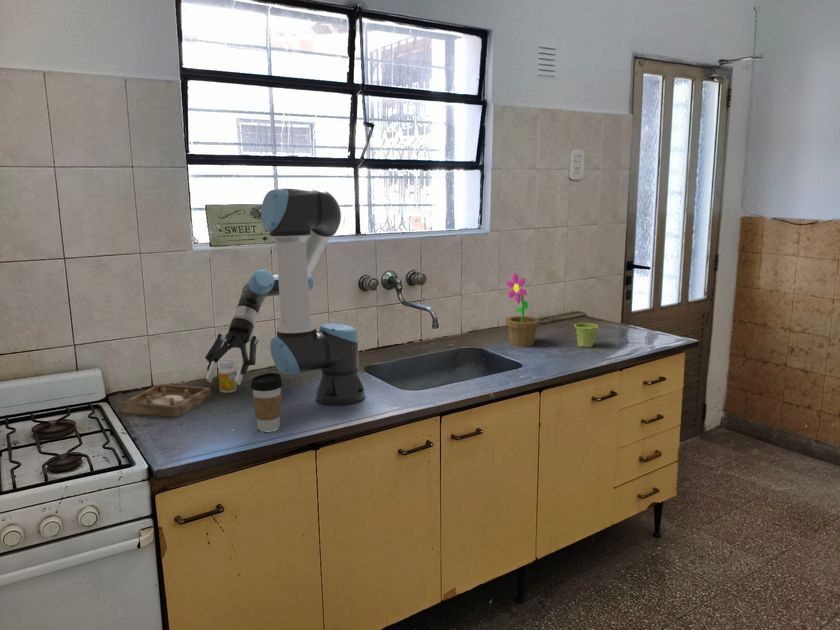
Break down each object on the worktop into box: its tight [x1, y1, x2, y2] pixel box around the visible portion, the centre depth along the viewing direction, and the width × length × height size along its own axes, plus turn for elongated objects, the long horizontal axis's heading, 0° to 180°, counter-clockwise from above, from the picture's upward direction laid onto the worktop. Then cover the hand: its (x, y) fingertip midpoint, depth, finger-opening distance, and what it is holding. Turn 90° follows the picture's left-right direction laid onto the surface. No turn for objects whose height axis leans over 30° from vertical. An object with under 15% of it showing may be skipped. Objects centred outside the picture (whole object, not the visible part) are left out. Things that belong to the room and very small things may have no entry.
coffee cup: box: [250, 372, 283, 431], centre depth 177 cm, size 8×8×15 cm
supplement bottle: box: [218, 359, 238, 394], centre depth 209 cm, size 5×5×10 cm
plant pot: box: [574, 322, 599, 349], centre depth 265 cm, size 9×9×9 cm
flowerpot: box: [504, 272, 541, 348], centre depth 265 cm, size 14×14×30 cm
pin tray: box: [121, 383, 211, 418], centre depth 196 cm, size 18×18×4 cm
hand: (222, 381), depth 206 cm, fingers open, 9 cm apart
